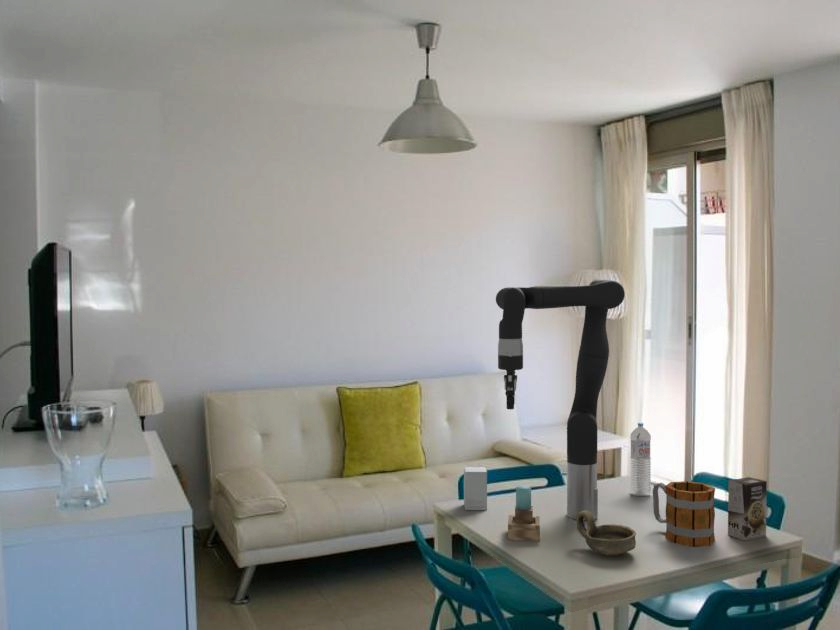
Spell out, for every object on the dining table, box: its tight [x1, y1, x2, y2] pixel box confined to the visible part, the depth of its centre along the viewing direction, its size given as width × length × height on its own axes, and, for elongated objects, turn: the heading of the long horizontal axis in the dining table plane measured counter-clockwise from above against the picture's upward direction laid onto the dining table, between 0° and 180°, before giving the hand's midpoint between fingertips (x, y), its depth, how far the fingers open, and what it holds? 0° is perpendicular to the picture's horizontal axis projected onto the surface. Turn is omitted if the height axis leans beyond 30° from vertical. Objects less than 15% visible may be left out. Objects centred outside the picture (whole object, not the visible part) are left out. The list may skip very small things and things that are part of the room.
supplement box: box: [463, 466, 488, 511], centre depth 248 cm, size 7×7×13 cm
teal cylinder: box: [515, 485, 532, 510], centre depth 219 cm, size 4×4×6 cm
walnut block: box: [514, 504, 534, 524], centre depth 219 cm, size 5×5×5 cm
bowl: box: [575, 510, 637, 556], centre depth 205 cm, size 14×18×10 cm
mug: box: [652, 480, 716, 548], centre depth 218 cm, size 20×14×15 cm
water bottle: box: [629, 422, 652, 497], centre depth 263 cm, size 7×7×25 cm
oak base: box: [507, 514, 541, 542], centre depth 219 cm, size 9×9×4 cm
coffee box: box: [727, 476, 768, 541], centre depth 218 cm, size 9×6×16 cm
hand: (510, 407), depth 228 cm, fingers open, 8 cm apart
